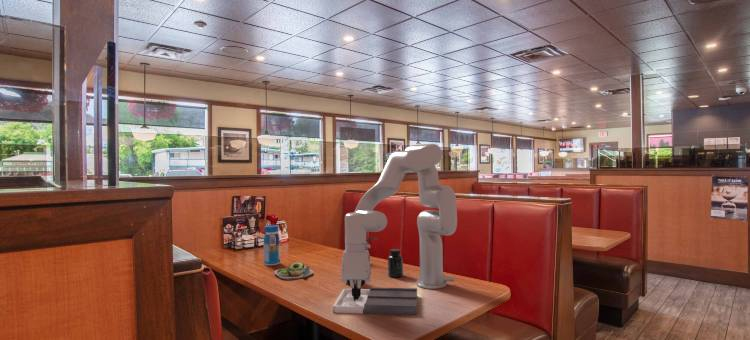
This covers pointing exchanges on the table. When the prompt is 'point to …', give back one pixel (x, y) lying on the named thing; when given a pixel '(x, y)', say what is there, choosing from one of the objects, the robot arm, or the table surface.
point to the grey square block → (350, 301)
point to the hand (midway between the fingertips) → (356, 298)
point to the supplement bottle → (395, 264)
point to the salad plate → (294, 271)
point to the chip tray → (359, 308)
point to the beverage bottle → (271, 245)
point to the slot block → (391, 301)
